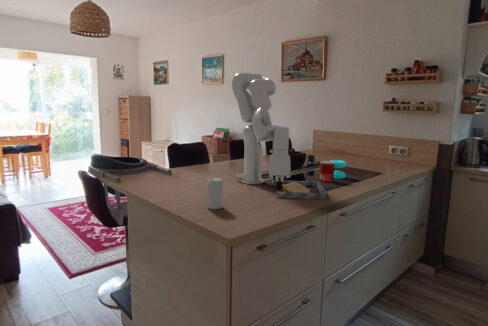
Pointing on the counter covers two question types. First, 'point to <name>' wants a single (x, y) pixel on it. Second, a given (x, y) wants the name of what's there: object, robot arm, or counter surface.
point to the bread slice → (294, 188)
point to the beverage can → (214, 193)
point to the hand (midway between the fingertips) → (279, 188)
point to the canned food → (327, 171)
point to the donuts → (339, 165)
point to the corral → (320, 195)
